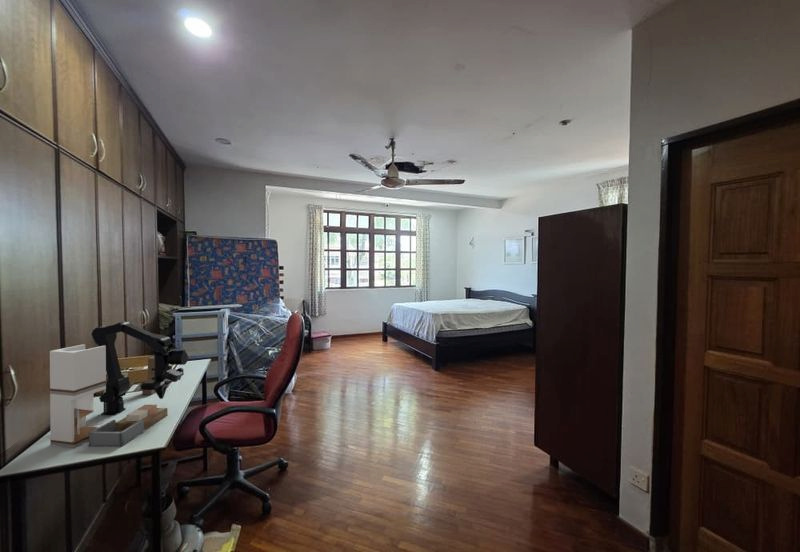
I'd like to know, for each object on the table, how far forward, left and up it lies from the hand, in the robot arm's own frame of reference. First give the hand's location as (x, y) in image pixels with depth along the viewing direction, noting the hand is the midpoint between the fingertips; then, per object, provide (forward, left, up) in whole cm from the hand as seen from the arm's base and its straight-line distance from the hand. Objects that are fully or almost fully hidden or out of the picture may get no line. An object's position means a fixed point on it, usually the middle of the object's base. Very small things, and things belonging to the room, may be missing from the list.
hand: (161, 398), depth 156 cm
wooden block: (-21, +24, -6) cm, 32 cm away
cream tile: (0, -15, -2) cm, 15 cm away
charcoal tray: (0, -25, -6) cm, 26 cm away
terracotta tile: (0, -9, -2) cm, 10 cm away
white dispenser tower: (-14, -25, -6) cm, 30 cm away
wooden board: (0, -12, -6) cm, 13 cm away
